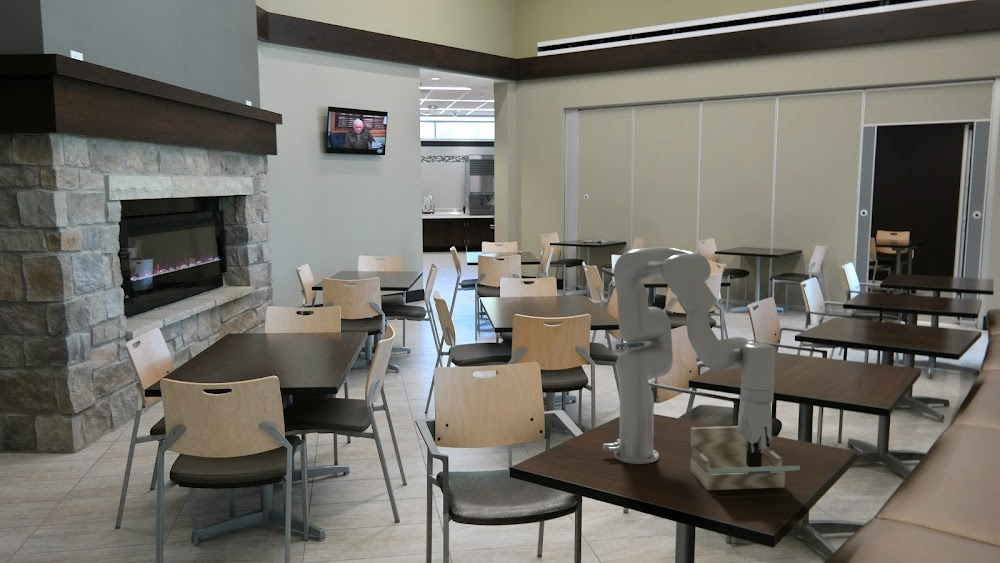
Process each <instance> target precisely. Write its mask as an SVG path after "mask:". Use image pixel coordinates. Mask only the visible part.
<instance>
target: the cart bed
mask: <svg viewBox="0 0 1000 563" xmlns="http://www.w3.org/2000/svg"><path fill="white" fill-rule="evenodd" d="M747 450H749V449H747V448H746V439H745V438H744V437H743V436H742V435H740V434H739V432H738V425H733V426H732V425H731V426H730V425H729V426H727V425H726V426H697V427H690V466H689V467H690V472H691V473H692V474H693V476H694V477H696V479H697V480H698V481H699V483H701V485H702V486H703V487H704V489H705V490H706V491H719V490H721V491H722V490H724V491H725V490H746V489H747V490H748V489H749V490H750V489H752V490H753V489H775V488H777V489H778V488H785V486H786V485H785V480H786V471H782V472H770V474H748V473H727V474H709V470H713V469H720V468H743V467H748V466H747V465H746V458H747ZM772 450H773V449H772V448H771V449H770V448H769V447H767V446H766V450H763V452H762V464H761V467H771V466H783V465H782V464H783V458H782V457H781V456H780V455H779V454H777V452H776V453H775V452H774V451H772Z"/></svg>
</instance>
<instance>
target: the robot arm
mask: <svg viewBox="0 0 1000 563" xmlns="http://www.w3.org/2000/svg"><path fill="white" fill-rule="evenodd" d="M711 270H712V267H711V264H710V262H709V261H708V259H707V258H706V257H705V256H704V255H703V254H700V253H697V252H694V251H689V250H684V249H683V250H682V249H678V248H675V247H668V246H667V247H666V246H665V247H664V246H660V247H657V246H656V247H645V248H644V247H643V248H635V249H630V250H628V251H626V252H624V253H622V254H621V255H620V256H619V257H618V258H617V260H616V262H615V264H614V268H613V280H614V285H615V289H616V296H617V314H618V317H617V318H618V328H619V334H620V337H621V340H623V342H625V343H628V344H640V343H644V346H638V347H632V348H629V349H626V350H624V351H623V352H621V353H620V354H619V355H618V357H617V359H616V363H615V367H616V368H615V369H616V375H617V380H618V387H619V389H618V390H619V438H617V439H616V441H615V442H613V443H610V442H609V443H608V442H607V443H602V450H603V451H608V452H609V453H613V457H614V458H615V459H616V460H618V461H620V462H623V463H627V464H633V465H645V464H650V463H651V464H653V463H654V462H656V461H658V460H659V458H660V454H659V452H658V451H657V450H656V449H654V422H655V421H654V409H655V408H654V407H655V406H654V404H655V402H654V398H655V397H654V393H653V389H652V387H651V386H650V383H649V380H652V379H657V378H660V377H664V376H666V375H667V374H669V373H670V371H671V370H672V367H673V361H674V360H673V359H674V354H673V353H674V352H673V337H672V336H673V335H672V325H671V321H670V318H669V315H668V314H667V313H666V311H665V310H663V309H662V308H660V307H657V306H649V294H648V291H647V288H646V287H645V285H644V283H643V282H642V281H643V280H647V279H657V278H658V279H659V278H662V279H663V280H664V282H665V283H666V285H667V287H668V288H669V290H670V291H671V293H672V294H673V295H674V297H675V299H676V300H677V302H678V303H679V305H680V306H681V308H682V310H683V311H684V313H685V314H686V331H687V335H688V341H689V343H690V345H691V347H692V349H693V351H694V352H695V353H696V355H697V356H698V358H699V360H700V361H701V362H702V364H704V366H705V367H707V368H708V369H710V370H711V371H713V372H723V371H724V372H725V371H728V370H731V369H738V368H741V380H740V383H741V384H740V401H739V408H738V419H737V426H738V432H739V434H740V435H742V436H743V437H744V438H745V439H746V448H747V449H749V450H747V458H746V465H747V466H748V467H761V464H762V452H763V450H766V443H769V442H770V441H771V442H772V431H773V430H772V429H773V428H772V427H773V422H772V421H773V418H772V417H773V416H772V413H773V412H772V403H774V390H775V388H774V387H775V369H776V368H775V367H776V349H775V347H774V346H773V345H771V344H769V343H765V342H756V341H753V340H750V339H747V338H745V337H742V336H733V337H729V338H728V337H727V338H722V339H718V337H717V335H716V334H715V332H714V331H713V329H712V328H711V325H710V322H709V312H710V310H712V309H713V307H715V304H716V302H717V298H716V295H715V294H714V293H713V292H712V290H711V289H710V287H709V286H708V285H707V284H708V283H706V282H707V281H708V280H709V279H710V276H711V272H712V271H711Z"/></svg>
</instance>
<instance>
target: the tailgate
mask: <svg viewBox="0 0 1000 563" xmlns="http://www.w3.org/2000/svg"><path fill="white" fill-rule="evenodd" d="M800 470H801V467H800V465H782V466H771V467H743V468H720V469H713V470H709V474H727V473H748V474H770V472H782V471H784V472H791V471H800Z"/></svg>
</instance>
